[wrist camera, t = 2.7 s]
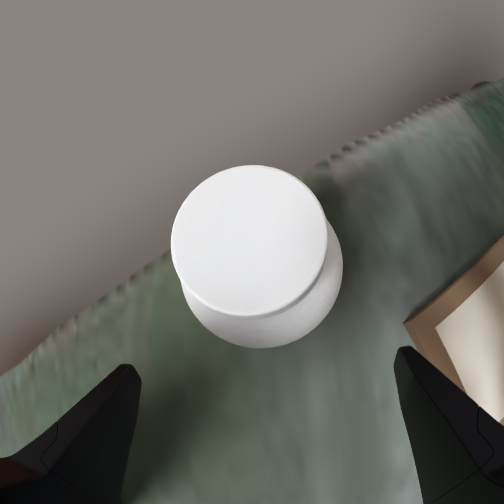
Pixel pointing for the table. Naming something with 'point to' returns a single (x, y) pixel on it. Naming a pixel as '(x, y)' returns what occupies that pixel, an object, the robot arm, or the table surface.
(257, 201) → the supplement bottle
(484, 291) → the walnut picture frame
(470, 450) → the robot arm
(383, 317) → the table surface
